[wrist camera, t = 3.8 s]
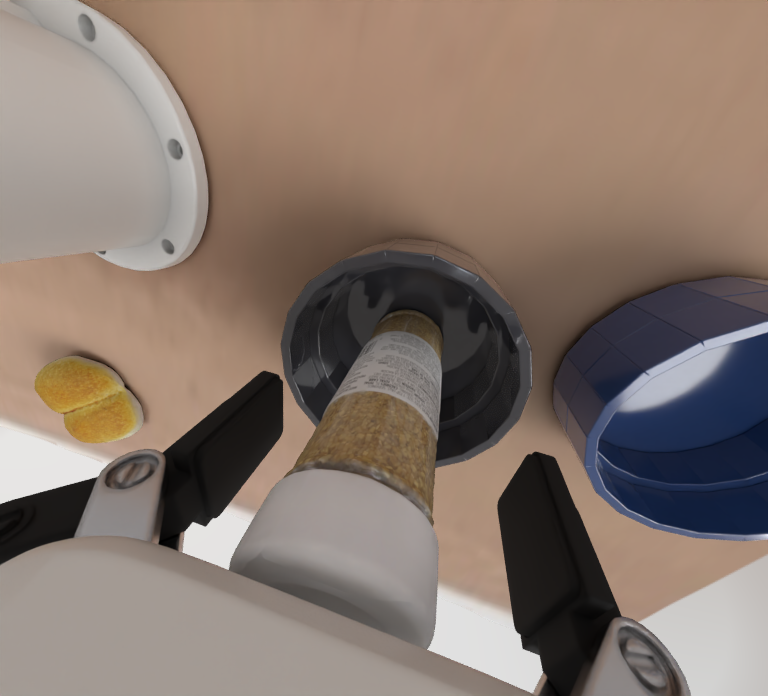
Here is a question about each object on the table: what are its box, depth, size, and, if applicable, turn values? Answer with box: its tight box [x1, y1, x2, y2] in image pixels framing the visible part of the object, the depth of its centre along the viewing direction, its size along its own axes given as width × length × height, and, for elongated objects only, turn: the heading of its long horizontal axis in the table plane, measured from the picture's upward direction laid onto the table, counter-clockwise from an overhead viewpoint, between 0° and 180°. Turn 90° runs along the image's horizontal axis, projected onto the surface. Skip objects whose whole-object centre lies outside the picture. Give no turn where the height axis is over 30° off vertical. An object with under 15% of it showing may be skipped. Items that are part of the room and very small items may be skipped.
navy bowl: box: [553, 276, 768, 541], centre depth 13 cm, size 12×12×5 cm
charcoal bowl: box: [281, 238, 532, 468], centre depth 15 cm, size 12×12×5 cm
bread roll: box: [35, 356, 144, 443], centre depth 25 cm, size 8×9×4 cm
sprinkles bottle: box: [229, 310, 444, 650], centre depth 11 cm, size 5×5×14 cm
